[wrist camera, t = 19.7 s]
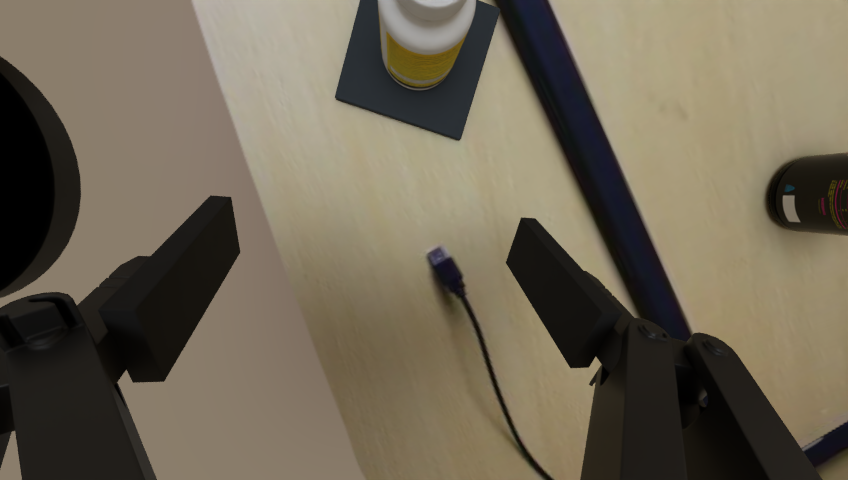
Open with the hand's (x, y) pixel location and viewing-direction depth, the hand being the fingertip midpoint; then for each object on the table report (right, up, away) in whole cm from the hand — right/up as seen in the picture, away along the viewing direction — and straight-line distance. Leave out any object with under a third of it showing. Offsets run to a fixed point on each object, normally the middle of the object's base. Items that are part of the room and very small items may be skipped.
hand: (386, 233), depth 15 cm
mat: (+1, +14, +10) cm, 17 cm away
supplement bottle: (+1, +14, +9) cm, 17 cm away
